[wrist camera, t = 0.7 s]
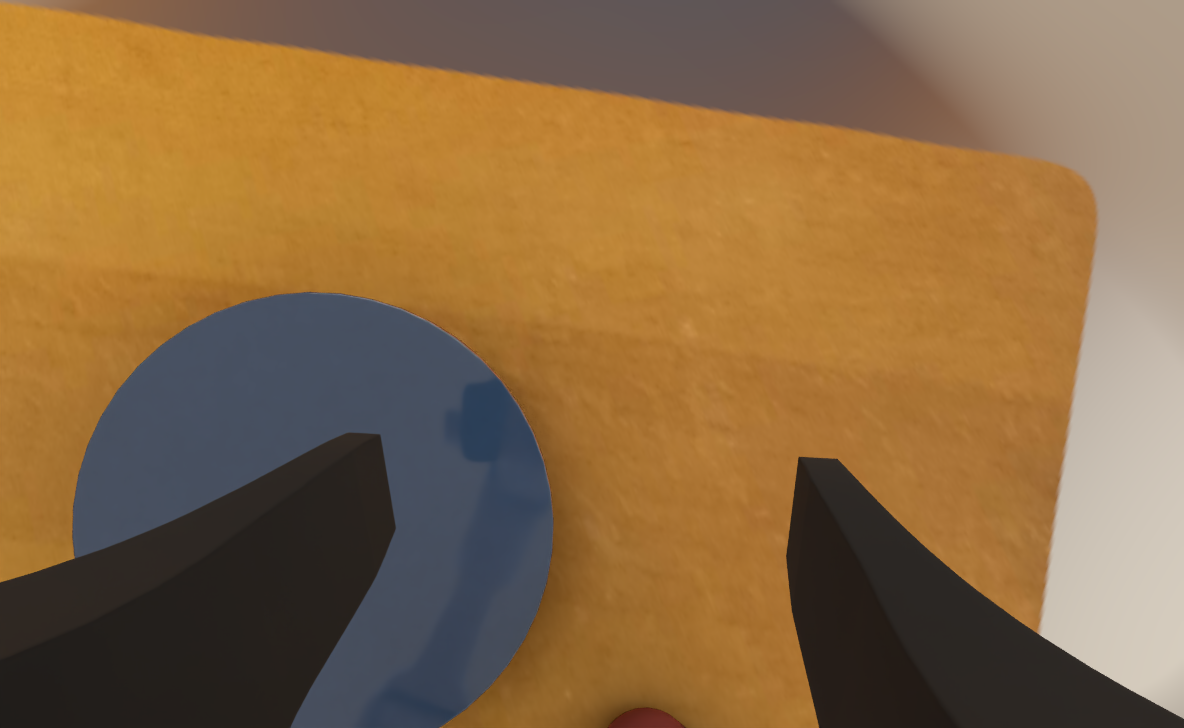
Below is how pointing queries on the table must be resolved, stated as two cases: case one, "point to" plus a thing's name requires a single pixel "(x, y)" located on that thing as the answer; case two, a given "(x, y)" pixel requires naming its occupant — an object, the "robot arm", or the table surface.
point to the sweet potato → (645, 719)
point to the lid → (414, 469)
